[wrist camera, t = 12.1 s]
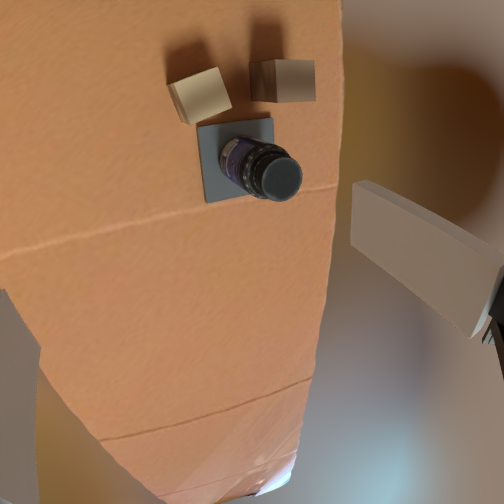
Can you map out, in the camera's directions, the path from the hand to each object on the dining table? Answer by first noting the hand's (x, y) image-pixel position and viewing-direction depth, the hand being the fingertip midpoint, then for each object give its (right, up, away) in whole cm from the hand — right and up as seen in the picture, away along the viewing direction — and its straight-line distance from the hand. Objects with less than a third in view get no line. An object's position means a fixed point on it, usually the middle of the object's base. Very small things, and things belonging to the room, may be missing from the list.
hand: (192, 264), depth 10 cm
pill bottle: (0, +12, +29) cm, 32 cm away
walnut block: (+4, +22, +26) cm, 35 cm away
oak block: (-5, +19, +24) cm, 31 cm away
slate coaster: (0, +12, +30) cm, 32 cm away
